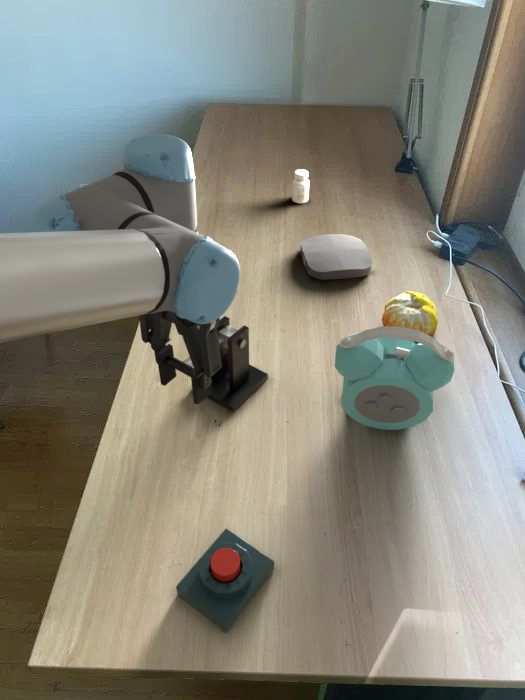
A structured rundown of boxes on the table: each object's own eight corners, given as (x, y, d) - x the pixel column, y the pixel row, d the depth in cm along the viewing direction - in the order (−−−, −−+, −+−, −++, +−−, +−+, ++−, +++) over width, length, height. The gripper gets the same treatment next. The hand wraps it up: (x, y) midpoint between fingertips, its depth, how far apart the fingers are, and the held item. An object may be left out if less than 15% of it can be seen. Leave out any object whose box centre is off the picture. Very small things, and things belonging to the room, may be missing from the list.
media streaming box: (375, 277, 123) (377, 266, 121) (309, 282, 122) (310, 271, 120) (357, 242, 134) (359, 231, 132) (297, 246, 132) (297, 235, 130)
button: (227, 588, 68) (227, 581, 67) (205, 571, 70) (204, 564, 69) (245, 565, 70) (245, 558, 69) (223, 549, 72) (223, 542, 71)
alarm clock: (432, 401, 96) (461, 309, 83) (435, 445, 89) (467, 352, 76) (331, 388, 98) (342, 296, 85) (325, 430, 91) (337, 337, 78)
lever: (194, 384, 83) (194, 371, 81) (164, 367, 85) (164, 354, 84) (247, 346, 92) (249, 334, 90) (219, 332, 94) (220, 320, 93)
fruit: (375, 307, 115) (393, 276, 109) (422, 321, 116) (441, 291, 111) (379, 342, 106) (399, 310, 101) (429, 357, 108) (451, 326, 103)
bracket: (233, 412, 94) (230, 356, 85) (192, 389, 98) (186, 333, 89) (268, 378, 100) (269, 323, 91) (228, 358, 104) (225, 302, 95)
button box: (226, 633, 68) (225, 619, 65) (177, 594, 71) (174, 579, 69) (274, 569, 74) (275, 554, 71) (226, 536, 77) (225, 520, 75)
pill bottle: (311, 200, 149) (313, 172, 144) (300, 205, 147) (301, 177, 142) (299, 194, 152) (301, 166, 146) (288, 199, 149) (289, 171, 144)
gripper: (248, 274, 70) (248, 402, 85) (138, 227, 78) (157, 351, 93) (208, 304, 65) (216, 433, 80) (96, 250, 73) (123, 377, 89)
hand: (184, 389), depth 87 cm, fingers closed on lever, 6 cm apart
